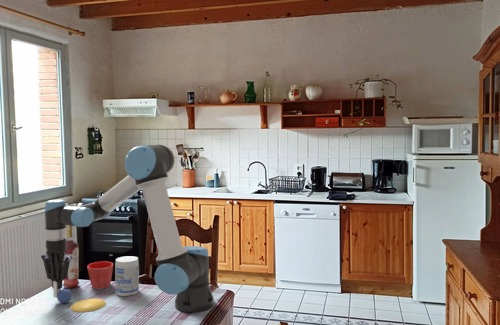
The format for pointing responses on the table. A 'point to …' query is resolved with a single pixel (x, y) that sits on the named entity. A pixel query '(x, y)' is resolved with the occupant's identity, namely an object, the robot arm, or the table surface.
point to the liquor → (72, 251)
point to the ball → (64, 296)
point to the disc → (88, 305)
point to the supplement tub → (127, 275)
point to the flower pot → (100, 274)
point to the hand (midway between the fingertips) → (57, 296)
